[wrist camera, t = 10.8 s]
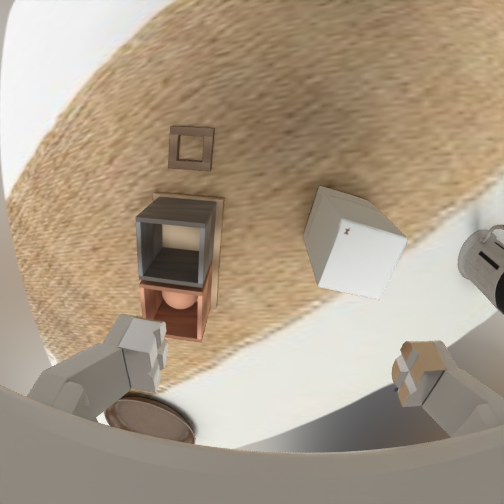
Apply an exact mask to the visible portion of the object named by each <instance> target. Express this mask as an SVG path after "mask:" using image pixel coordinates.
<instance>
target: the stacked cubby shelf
mask: <svg viewBox="0 0 504 504" xmlns="http://www.w3.org/2000/svg"><path fill="white" fill-rule="evenodd" d="M223 208H224V198H220V197H210V196H199V195H188V194H176V193H163V192H155V193H154V194H153V202H152V203H151V204H150V205H149V206H148V207H147V208H145V209H144V210H143V211H142V212H141V213H140V214H139V215H138V216H137V217H136V237H137V257H138V273H139V279H140V280H142V281H141V282H140V284H139V286H140V297H141V308H142V317H143V318H149V319H154V320H160V321H164V322H165V323H166V334H165V336H164V337H167V338H173V339H180V340H187V341H194V342H202V338H203V334H204V330H205V326H206V322H207V318H208V314H209V311H210V308H214V309H216V307H217V295H218V278H219V263H220V248H221V234H222V220H223ZM162 291H167V292H174V293H181V294H189V295H197V296H198V298H197V300H196V302H195V303H194V304H193V305H192V306H190V307H188V308H186V309H175V308H173V307H171V306H169V305H168V304H167V303H166V302H165V300H164V298H163V296H162Z"/></svg>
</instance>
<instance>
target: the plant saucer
mask: <svg viewBox="0 0 504 504" xmlns="http://www.w3.org/2000/svg"><path fill="white" fill-rule="evenodd" d="M104 414H105V418H106V420H107V422H108V424H109V425H110V426H111V427H115V428H119V429H123V430H126V431H130V432H135V433H139V434H143V435H148V436H152V437H157V438H162V439H167V440H172V441H178V442H183V443H190V444H194V443H195V435H194V433H193V431H192V429H191V427H190V425H189V424H188V423H187V421H186V420H185V419H184V418H183V417H182V416H181V415H180V414H178V413H177V412H176V411H175V410H173V409H171V408H170V407H168V406H166V405H164V404H162V403H160V402H157V401H154V400H151V399H147V398H142V397H124V398H120V399H119V400H117V401H116V402H115V403H113V404H112V405H111V406H110V407H108V408H107V409H106V410H105V411H104Z"/></svg>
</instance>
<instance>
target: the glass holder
mask: <svg viewBox="0 0 504 504" xmlns="http://www.w3.org/2000/svg"><path fill="white" fill-rule="evenodd" d="M495 229H502V230H504V225H495V226H493V227H492V228H491V229H490V231H488V230H480V231H477V232H475V233H474V234H472V235H471V236H470V237H469V238H468V239H467V240H466V241H465V243H464V244H463V246H462V248H461V250H460V253H459V257H458V268H459V272H460V273H461V275H462V276H463V277H464V278H466V279H469V280H471V281H472V282H473V283H474V284H475V285H476V286H477V288H478V289H479V290H480V291H481V292H482V293H483V294H484V295H485V296H486V297H487V298H488V299H489V300H490V302H491V303H492V304H493V305H494V306H495V307H496V308H497V309H498V310H499V311H500V312H501V313H502V314H504V244H502V243H501V242H500V241H498V240H497V239H496V237H495V235H494V234H493V233H492V232H493V231H494V230H495Z"/></svg>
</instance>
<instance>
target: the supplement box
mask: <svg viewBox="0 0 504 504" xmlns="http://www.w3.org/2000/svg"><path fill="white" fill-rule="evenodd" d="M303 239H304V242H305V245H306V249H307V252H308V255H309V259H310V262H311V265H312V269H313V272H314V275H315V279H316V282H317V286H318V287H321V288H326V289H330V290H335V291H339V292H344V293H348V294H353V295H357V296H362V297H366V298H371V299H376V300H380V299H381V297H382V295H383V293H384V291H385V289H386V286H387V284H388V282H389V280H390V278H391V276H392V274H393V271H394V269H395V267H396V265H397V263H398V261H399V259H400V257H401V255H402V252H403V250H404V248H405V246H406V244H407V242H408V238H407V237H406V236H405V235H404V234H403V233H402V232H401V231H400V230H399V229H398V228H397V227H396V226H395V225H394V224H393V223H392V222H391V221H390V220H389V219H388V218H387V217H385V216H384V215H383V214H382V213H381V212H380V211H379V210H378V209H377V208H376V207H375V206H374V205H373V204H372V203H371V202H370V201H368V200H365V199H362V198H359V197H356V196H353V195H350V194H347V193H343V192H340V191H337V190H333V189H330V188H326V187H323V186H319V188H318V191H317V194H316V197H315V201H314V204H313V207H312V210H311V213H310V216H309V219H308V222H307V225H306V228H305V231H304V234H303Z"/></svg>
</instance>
